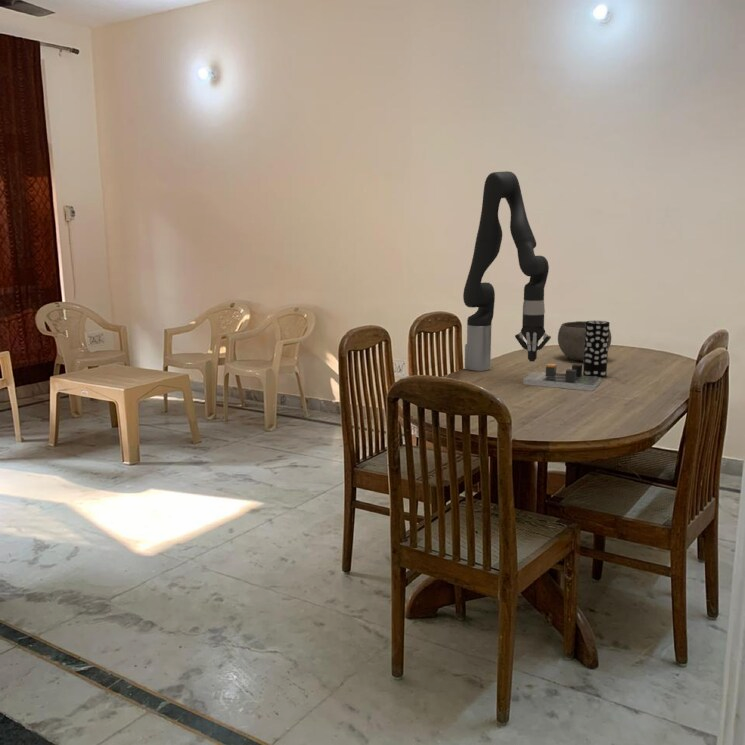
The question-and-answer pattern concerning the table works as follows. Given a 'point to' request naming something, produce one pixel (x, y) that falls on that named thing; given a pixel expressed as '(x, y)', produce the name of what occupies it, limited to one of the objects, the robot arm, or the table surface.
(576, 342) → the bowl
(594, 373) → the spotted tube
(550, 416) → the table surface
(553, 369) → the block
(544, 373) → the panel
